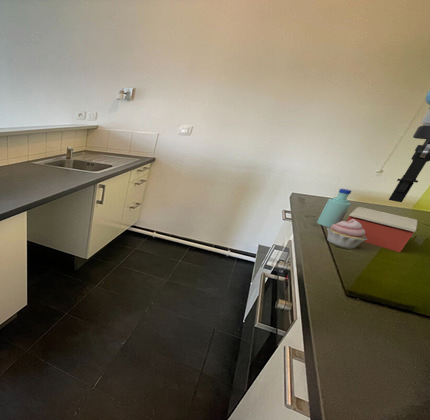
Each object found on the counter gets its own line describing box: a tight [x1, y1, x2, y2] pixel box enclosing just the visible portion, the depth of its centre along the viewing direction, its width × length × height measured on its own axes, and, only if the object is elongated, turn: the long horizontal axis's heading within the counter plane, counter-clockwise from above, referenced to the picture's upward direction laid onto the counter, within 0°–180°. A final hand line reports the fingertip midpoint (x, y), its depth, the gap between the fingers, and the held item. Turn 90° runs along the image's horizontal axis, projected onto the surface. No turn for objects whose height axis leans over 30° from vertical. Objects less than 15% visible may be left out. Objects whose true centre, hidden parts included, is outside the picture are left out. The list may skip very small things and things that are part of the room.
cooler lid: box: [348, 206, 418, 233], centre depth 86 cm, size 19×14×1 cm
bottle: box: [316, 188, 352, 228], centre depth 96 cm, size 6×6×16 cm
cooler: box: [346, 215, 415, 253], centre depth 88 cm, size 18×14×8 cm
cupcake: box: [326, 219, 367, 251], centre depth 82 cm, size 9×9×10 cm
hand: (395, 200), depth 81 cm, fingers closed
